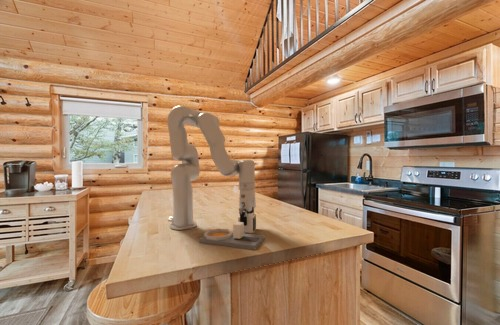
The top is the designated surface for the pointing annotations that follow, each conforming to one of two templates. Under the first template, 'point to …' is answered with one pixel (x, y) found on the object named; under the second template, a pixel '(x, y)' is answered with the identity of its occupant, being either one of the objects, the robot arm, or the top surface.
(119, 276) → the top surface
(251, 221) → the medicine bottle
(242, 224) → the block
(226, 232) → the grey tray
